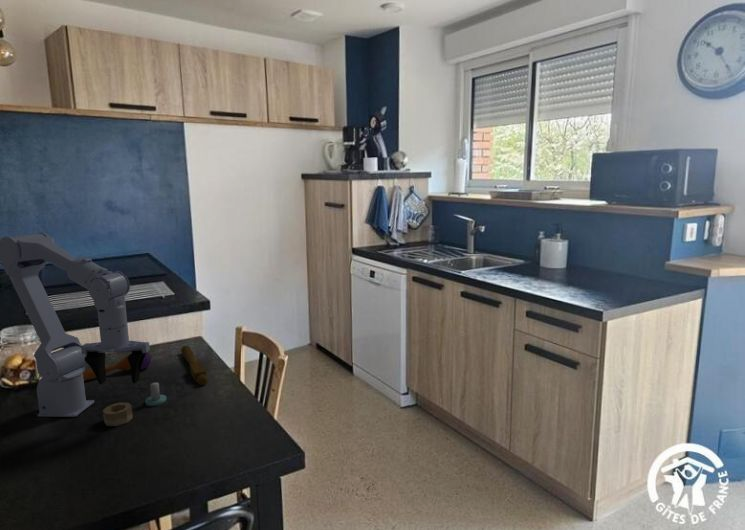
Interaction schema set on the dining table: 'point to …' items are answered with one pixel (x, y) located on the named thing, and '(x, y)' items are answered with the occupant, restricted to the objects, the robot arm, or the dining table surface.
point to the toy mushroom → (155, 396)
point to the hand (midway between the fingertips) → (119, 381)
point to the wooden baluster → (195, 366)
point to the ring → (117, 414)
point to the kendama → (118, 367)
